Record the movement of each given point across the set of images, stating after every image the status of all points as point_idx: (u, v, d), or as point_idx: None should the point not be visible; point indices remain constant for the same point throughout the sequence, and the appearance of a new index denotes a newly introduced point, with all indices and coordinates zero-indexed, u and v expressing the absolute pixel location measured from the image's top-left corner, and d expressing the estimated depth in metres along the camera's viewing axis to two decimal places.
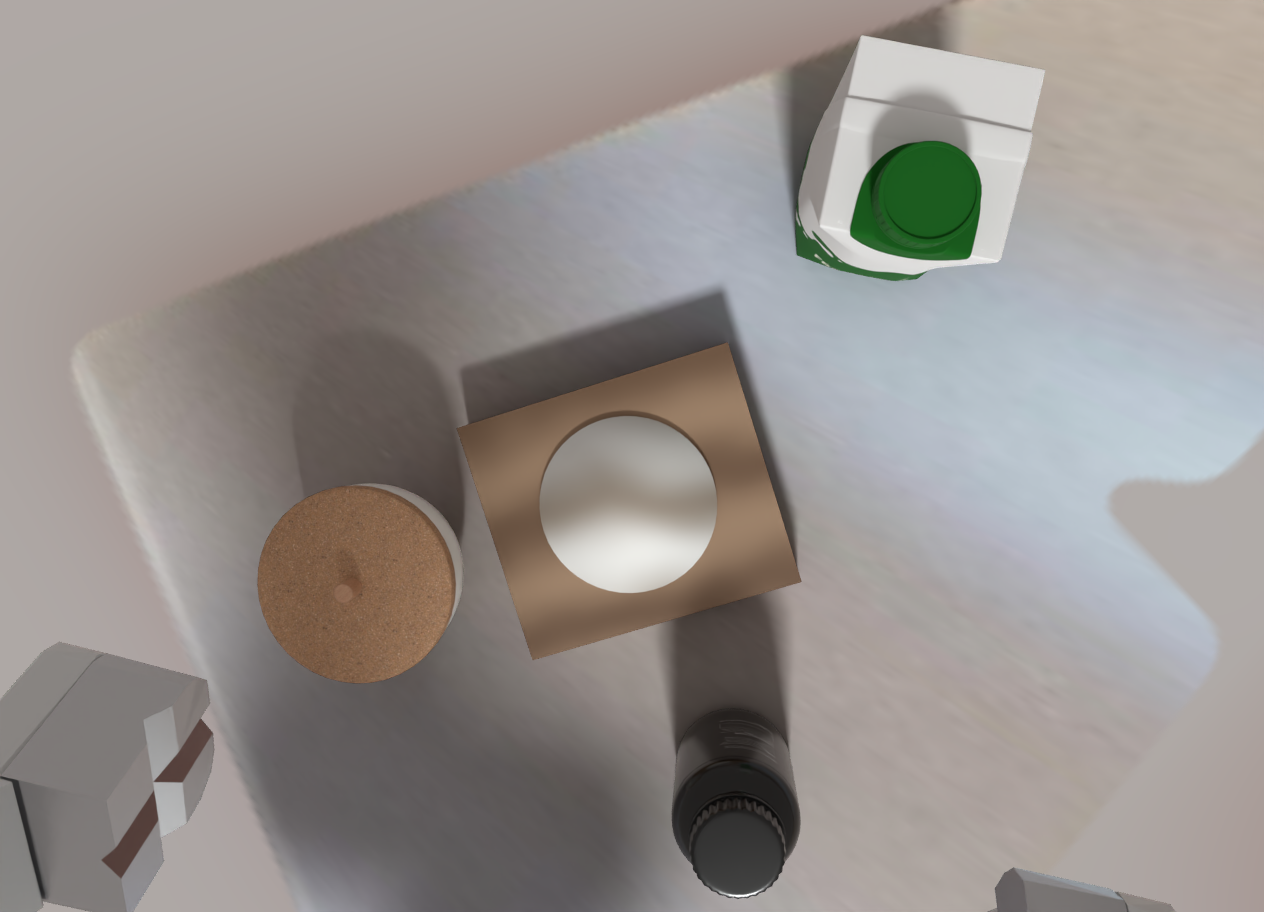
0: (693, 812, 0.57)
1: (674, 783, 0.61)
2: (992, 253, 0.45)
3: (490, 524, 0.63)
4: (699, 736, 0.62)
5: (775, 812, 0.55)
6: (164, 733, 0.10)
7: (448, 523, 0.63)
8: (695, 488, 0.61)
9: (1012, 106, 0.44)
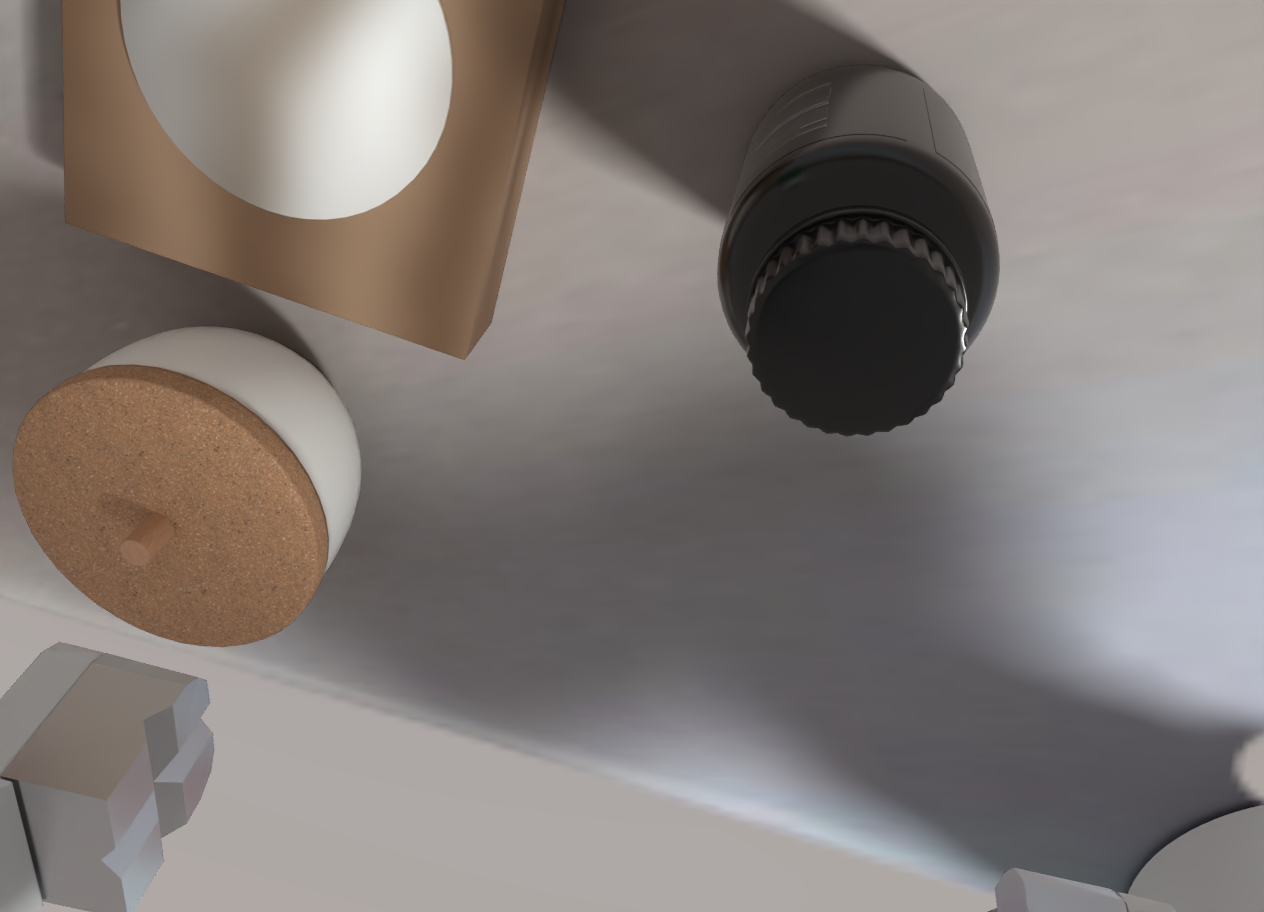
0: None
1: None
2: None
3: (230, 276, 0.36)
4: None
5: (855, 210, 0.24)
6: (164, 733, 0.10)
7: (203, 328, 0.37)
8: None
9: None
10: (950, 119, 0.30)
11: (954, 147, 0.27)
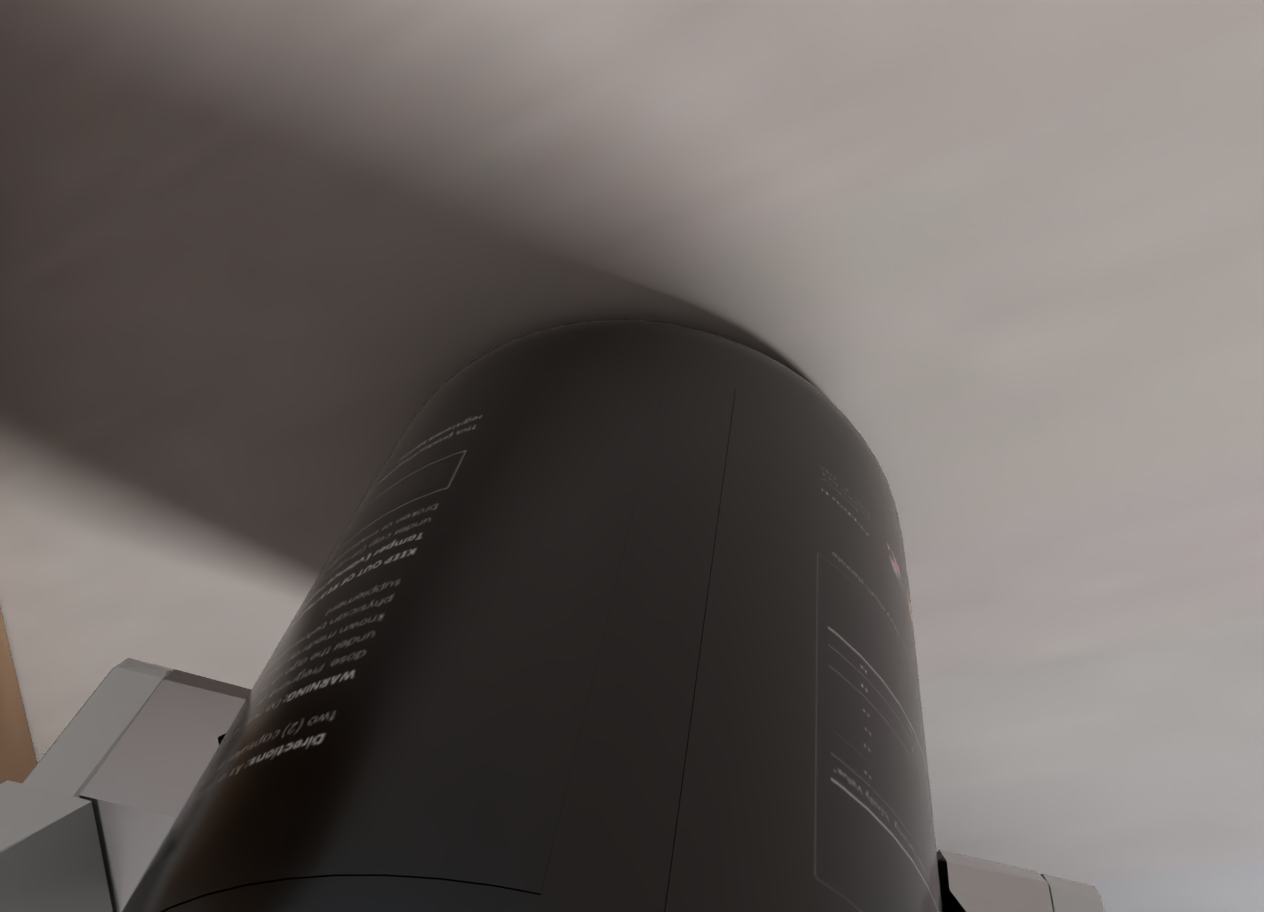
0: None
1: None
2: None
3: None
4: None
5: None
6: None
7: None
8: None
9: None
10: (804, 497, 0.11)
11: (780, 725, 0.08)
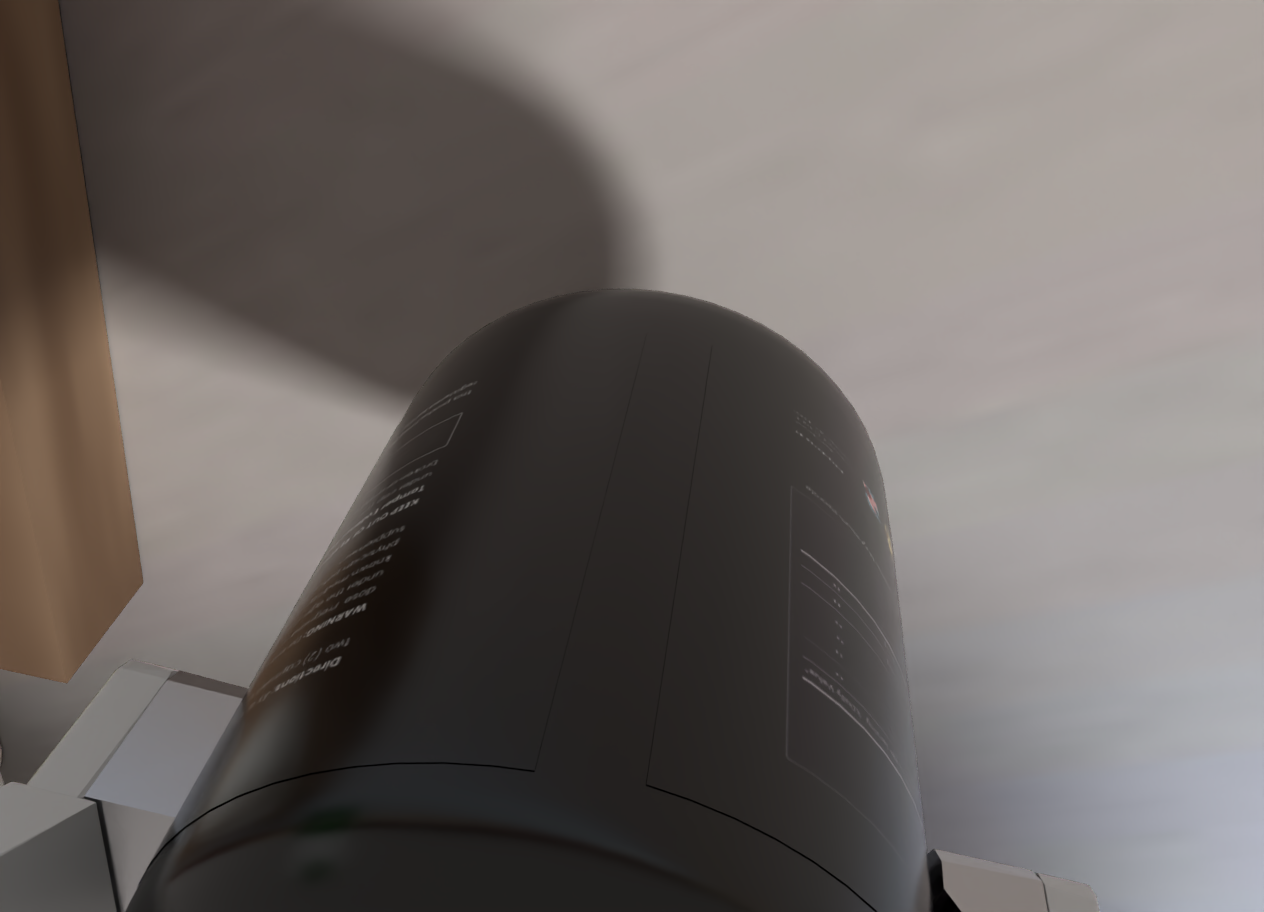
0: None
1: None
2: None
3: None
4: None
5: None
6: None
7: None
8: None
9: None
10: (778, 438, 0.11)
11: (754, 632, 0.09)
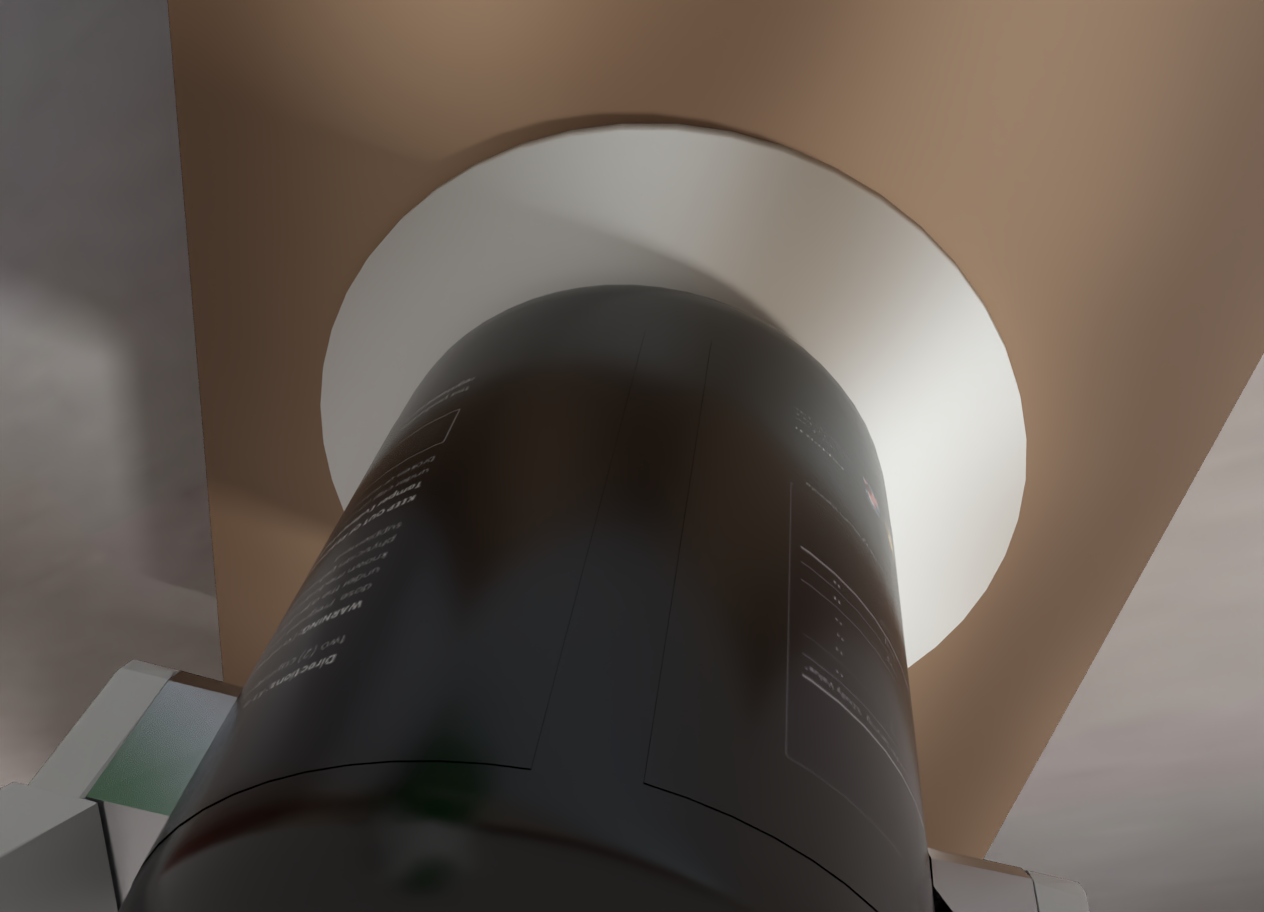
0: None
1: None
2: None
3: None
4: None
5: None
6: None
7: None
8: (727, 229, 0.13)
9: None
10: (778, 434, 0.11)
11: (753, 629, 0.09)
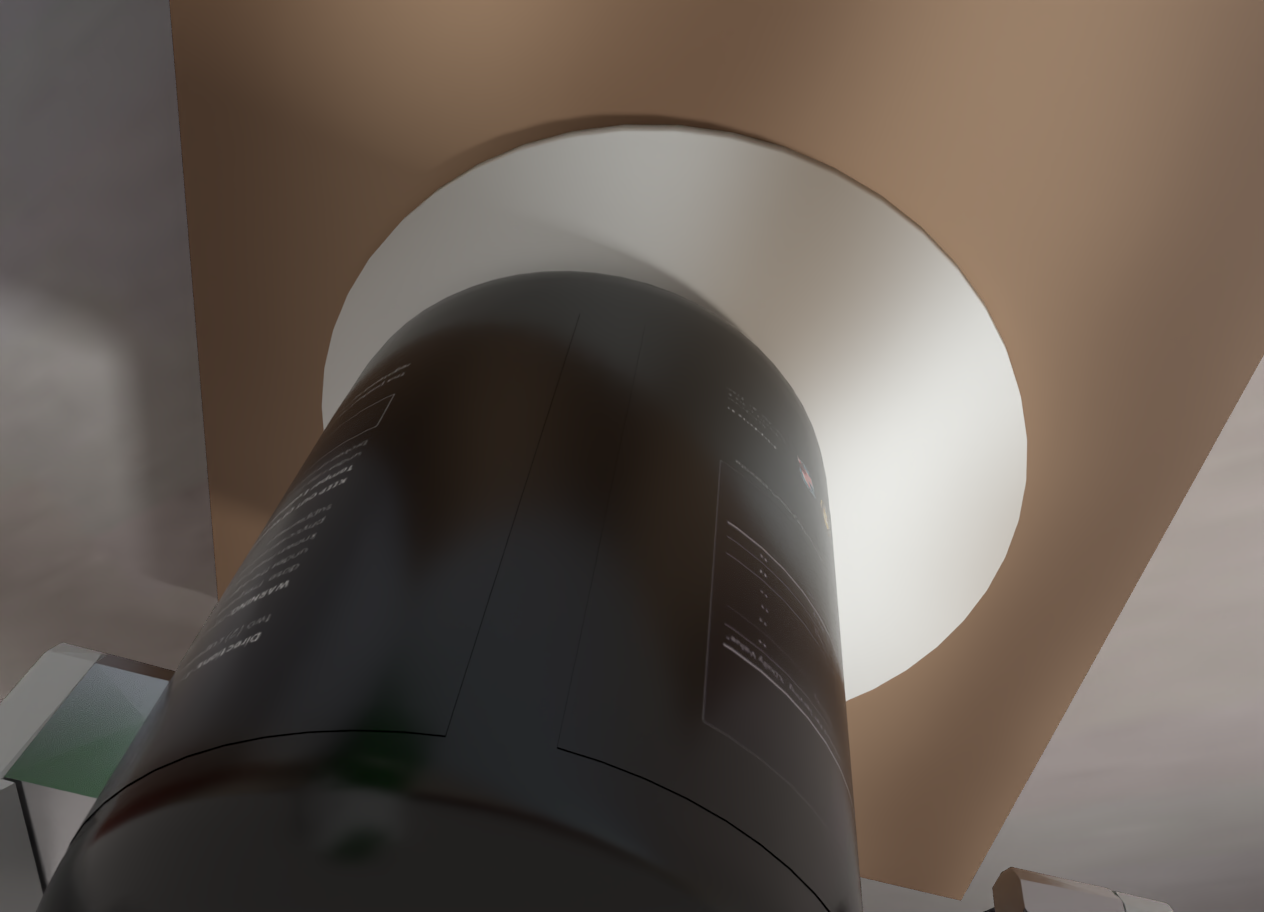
0: None
1: None
2: None
3: None
4: None
5: None
6: None
7: None
8: (728, 230, 0.14)
9: None
10: (709, 413, 0.12)
11: (675, 600, 0.09)
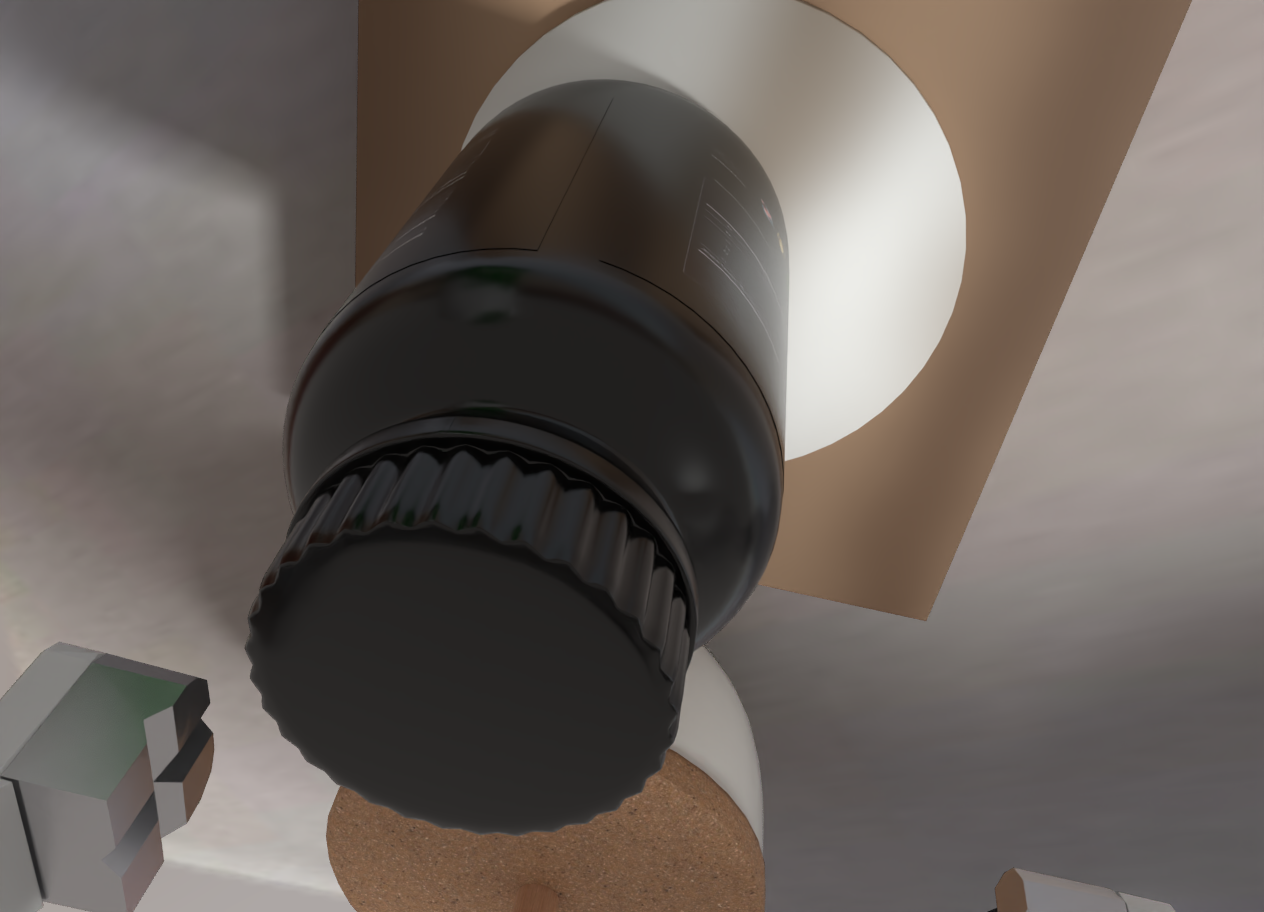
0: None
1: None
2: None
3: None
4: None
5: (408, 436, 0.12)
6: (164, 733, 0.10)
7: None
8: (753, 58, 0.19)
9: None
10: (698, 154, 0.17)
11: (669, 224, 0.15)
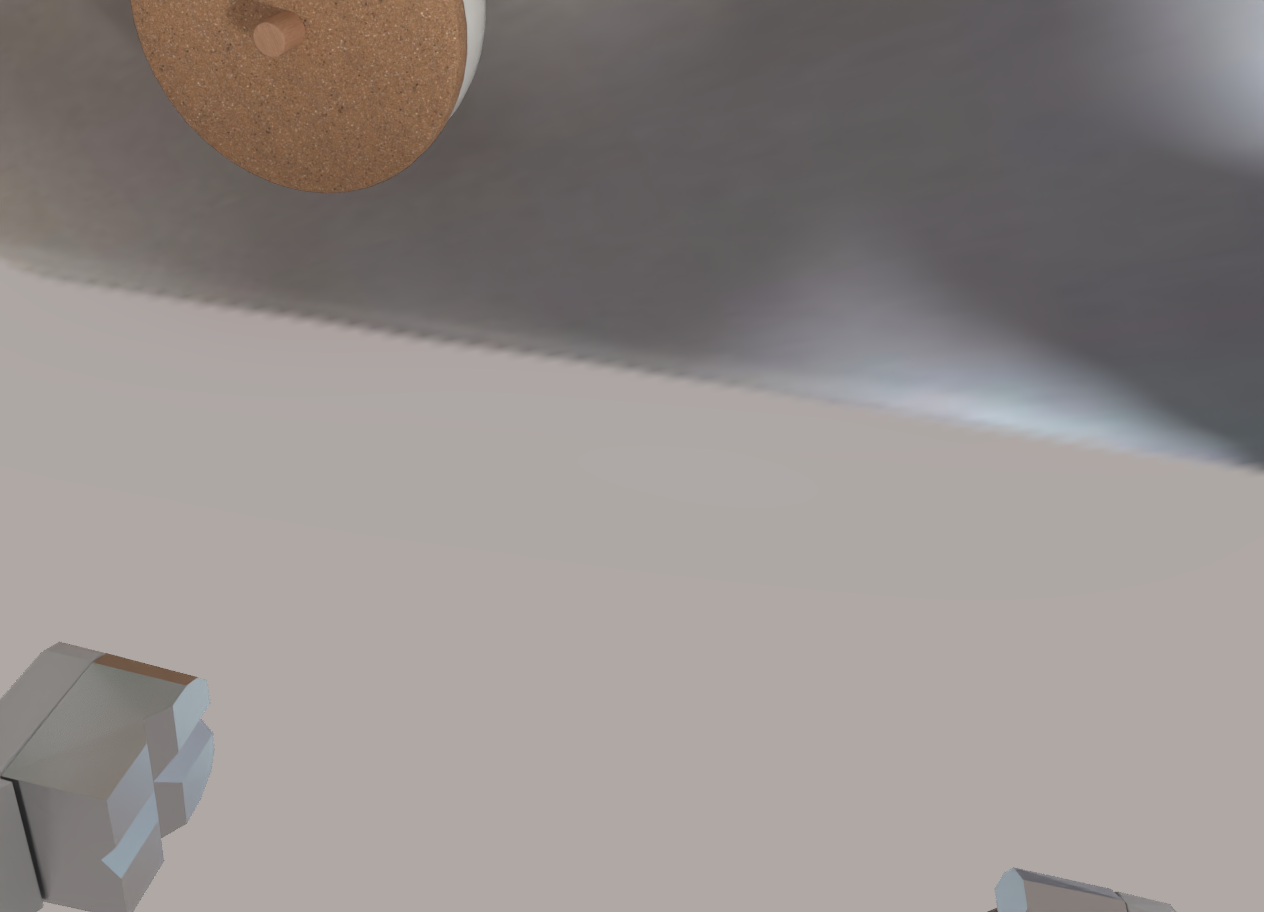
0: None
1: None
2: None
3: None
4: None
5: None
6: (164, 733, 0.10)
7: None
8: None
9: None
10: None
11: None
